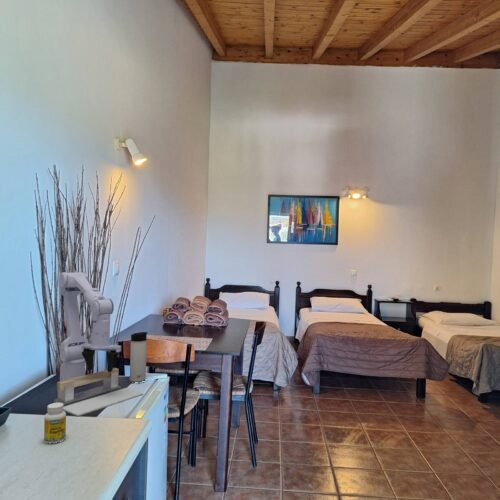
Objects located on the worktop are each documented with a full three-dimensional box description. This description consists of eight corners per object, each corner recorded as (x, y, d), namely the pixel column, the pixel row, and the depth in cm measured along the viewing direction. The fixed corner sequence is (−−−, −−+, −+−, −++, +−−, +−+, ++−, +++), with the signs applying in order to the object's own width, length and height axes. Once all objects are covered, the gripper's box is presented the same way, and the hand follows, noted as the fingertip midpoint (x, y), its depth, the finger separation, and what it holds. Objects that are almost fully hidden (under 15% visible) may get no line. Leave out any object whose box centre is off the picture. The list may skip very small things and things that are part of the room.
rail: (56, 389, 137) (57, 382, 137) (114, 374, 156) (114, 367, 156) (60, 390, 136) (61, 383, 136) (118, 375, 155) (118, 368, 155)
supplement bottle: (61, 434, 115) (62, 400, 115) (68, 440, 111) (69, 405, 111) (41, 439, 111) (42, 404, 111) (47, 446, 107) (48, 410, 107)
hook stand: (53, 403, 138) (54, 382, 138) (111, 386, 157) (111, 368, 157) (63, 407, 135) (63, 386, 135) (121, 389, 153) (121, 371, 154)
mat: (60, 409, 133) (60, 407, 133) (126, 389, 154) (126, 387, 154) (77, 416, 127) (77, 414, 127) (143, 394, 148) (143, 393, 148)
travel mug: (142, 384, 160) (143, 333, 160) (126, 383, 161) (128, 332, 162) (149, 379, 166) (150, 331, 167) (134, 378, 167) (135, 330, 168)
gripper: (76, 333, 142) (75, 372, 142) (115, 336, 140) (113, 375, 140) (87, 330, 149) (86, 367, 149) (124, 332, 147) (123, 369, 147)
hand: (100, 370), depth 145 cm, fingers open, 7 cm apart
